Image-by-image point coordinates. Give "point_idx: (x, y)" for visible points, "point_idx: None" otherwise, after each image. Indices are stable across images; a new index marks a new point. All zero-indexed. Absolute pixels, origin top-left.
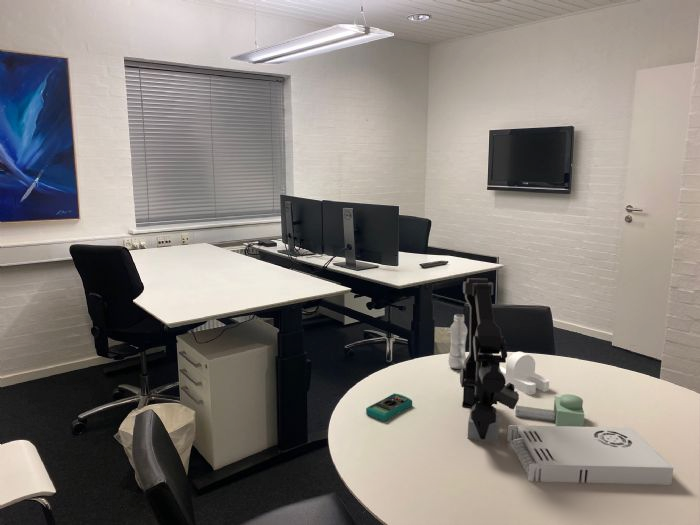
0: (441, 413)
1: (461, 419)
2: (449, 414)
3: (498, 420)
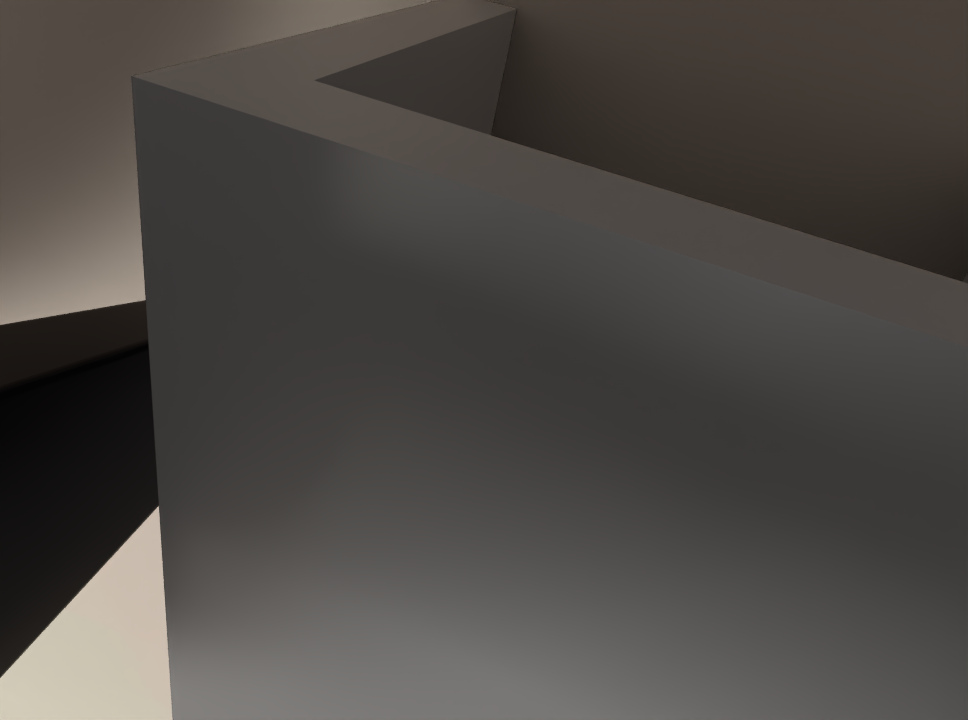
0: (100, 669)
1: (160, 529)
2: (88, 607)
3: (712, 319)
